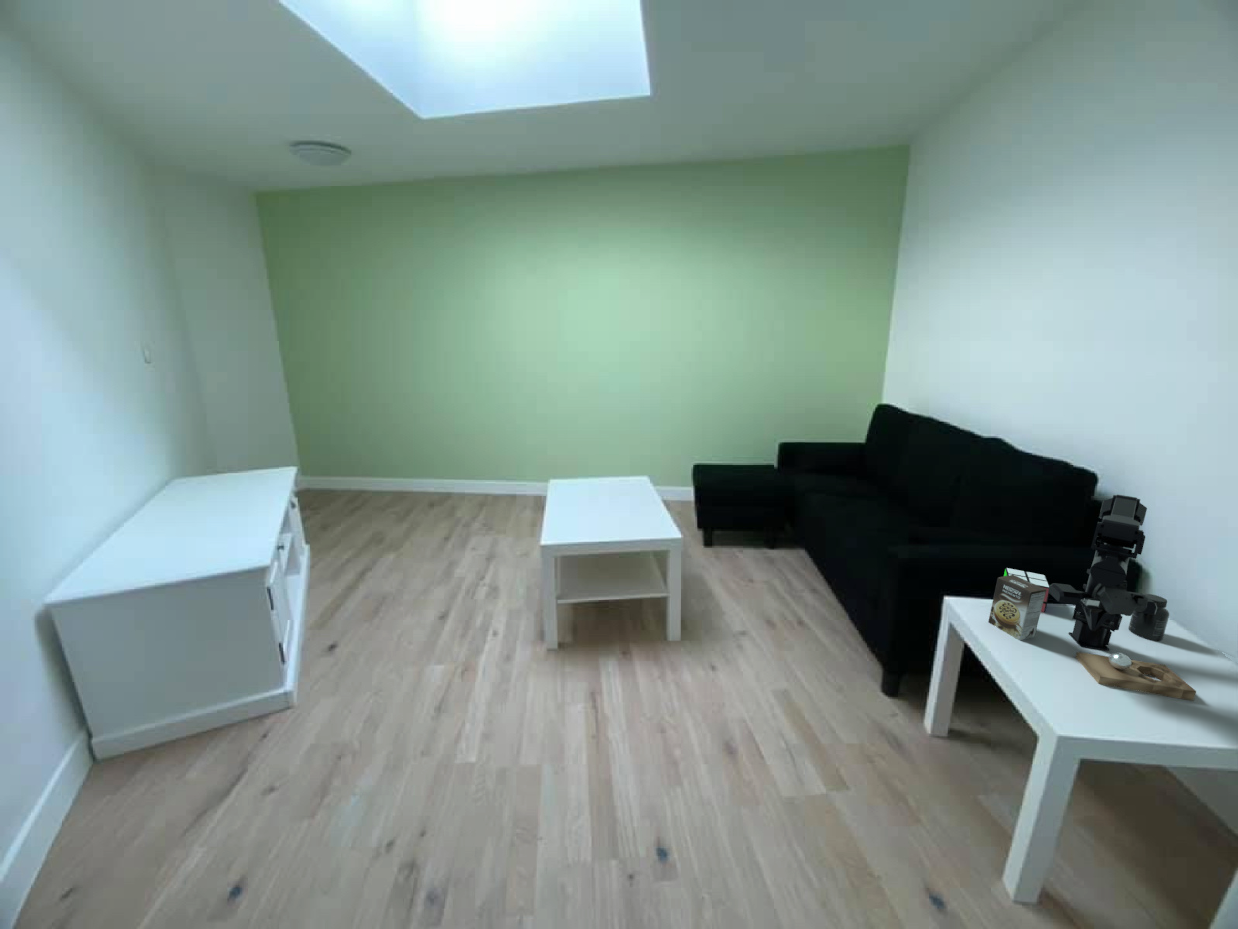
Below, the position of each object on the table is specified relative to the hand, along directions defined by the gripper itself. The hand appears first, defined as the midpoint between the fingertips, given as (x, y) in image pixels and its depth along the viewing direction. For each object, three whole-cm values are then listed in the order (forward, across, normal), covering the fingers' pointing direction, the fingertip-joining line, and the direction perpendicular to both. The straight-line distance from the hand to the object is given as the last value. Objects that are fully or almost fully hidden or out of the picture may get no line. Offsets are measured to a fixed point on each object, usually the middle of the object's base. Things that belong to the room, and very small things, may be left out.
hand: (1092, 629), depth 122 cm
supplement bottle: (+12, +26, +24) cm, 37 cm away
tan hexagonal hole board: (+12, +10, 0) cm, 16 cm away
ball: (+10, +7, 0) cm, 12 cm away
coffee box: (+12, -10, +14) cm, 21 cm away
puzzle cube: (+12, 0, +33) cm, 35 cm away
